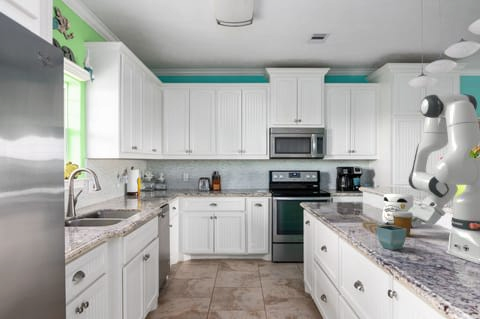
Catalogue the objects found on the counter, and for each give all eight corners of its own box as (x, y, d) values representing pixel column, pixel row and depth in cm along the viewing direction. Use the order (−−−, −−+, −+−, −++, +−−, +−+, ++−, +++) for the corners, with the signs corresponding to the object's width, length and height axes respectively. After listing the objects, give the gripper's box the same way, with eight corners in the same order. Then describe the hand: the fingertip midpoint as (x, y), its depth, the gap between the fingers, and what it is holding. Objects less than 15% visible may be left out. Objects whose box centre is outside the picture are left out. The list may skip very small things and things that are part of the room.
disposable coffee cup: (417, 236, 154) (417, 212, 154) (403, 238, 151) (403, 213, 151) (401, 232, 163) (401, 210, 163) (387, 234, 160) (387, 211, 160)
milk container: (384, 227, 176) (384, 196, 176) (380, 222, 193) (380, 193, 193) (418, 229, 171) (418, 197, 171) (411, 223, 188) (411, 193, 188)
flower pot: (390, 244, 140) (390, 225, 140) (407, 250, 131) (407, 228, 131) (375, 246, 136) (375, 226, 136) (392, 252, 128) (391, 230, 128)
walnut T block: (413, 237, 154) (413, 231, 154) (381, 237, 154) (381, 231, 154) (389, 226, 178) (389, 221, 178) (362, 226, 178) (362, 221, 178)
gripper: (414, 199, 168) (396, 217, 168) (438, 205, 147) (418, 225, 147) (422, 207, 168) (404, 226, 167) (448, 214, 147) (427, 235, 147)
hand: (411, 225), depth 157 cm, fingers closed, pressing on disposable coffee cup
